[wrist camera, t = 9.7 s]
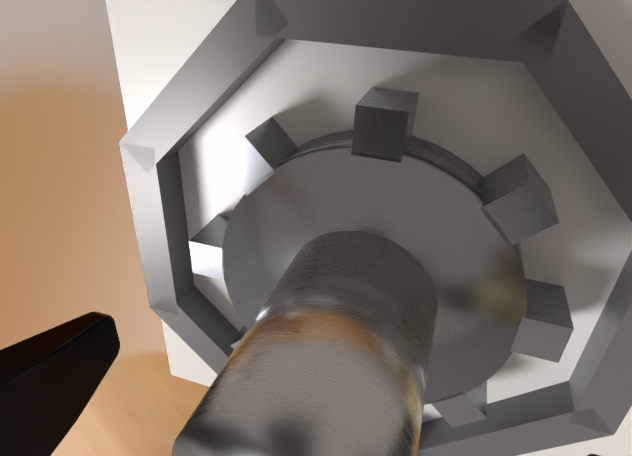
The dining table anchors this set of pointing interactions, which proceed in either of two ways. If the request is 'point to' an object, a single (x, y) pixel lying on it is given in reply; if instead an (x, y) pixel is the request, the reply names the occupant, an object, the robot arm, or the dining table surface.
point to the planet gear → (368, 288)
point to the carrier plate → (430, 124)
